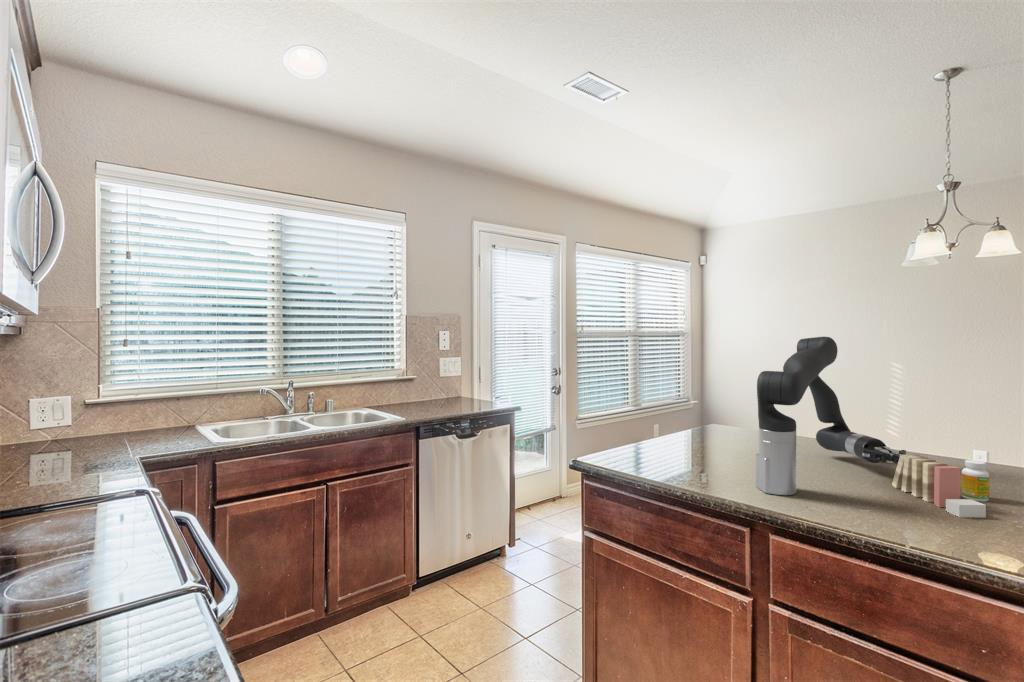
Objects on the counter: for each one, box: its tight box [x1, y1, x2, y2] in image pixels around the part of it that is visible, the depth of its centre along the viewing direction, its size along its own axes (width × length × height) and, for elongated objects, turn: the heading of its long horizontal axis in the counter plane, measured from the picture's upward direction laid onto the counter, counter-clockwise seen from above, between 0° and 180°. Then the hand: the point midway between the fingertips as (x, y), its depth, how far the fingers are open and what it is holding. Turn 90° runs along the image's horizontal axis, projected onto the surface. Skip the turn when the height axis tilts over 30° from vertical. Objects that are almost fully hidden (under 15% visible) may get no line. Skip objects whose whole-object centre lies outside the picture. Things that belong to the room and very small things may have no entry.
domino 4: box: [922, 461, 949, 503], centre depth 130 cm, size 5×2×10 cm, turn 87°
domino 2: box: [900, 455, 929, 493], centre depth 137 cm, size 5×2×10 cm, turn 87°
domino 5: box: [933, 465, 961, 508], centre depth 126 cm, size 5×2×10 cm, turn 88°
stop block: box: [945, 498, 987, 519], centre depth 121 cm, size 6×4×3 cm, turn 88°
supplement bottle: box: [960, 459, 990, 503], centre depth 132 cm, size 5×5×10 cm
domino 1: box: [891, 454, 921, 489], centre depth 140 cm, size 5×2×10 cm, turn 87°
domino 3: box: [911, 458, 937, 498], centre depth 134 cm, size 5×2×10 cm, turn 88°
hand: (906, 462), depth 140 cm, fingers closed
